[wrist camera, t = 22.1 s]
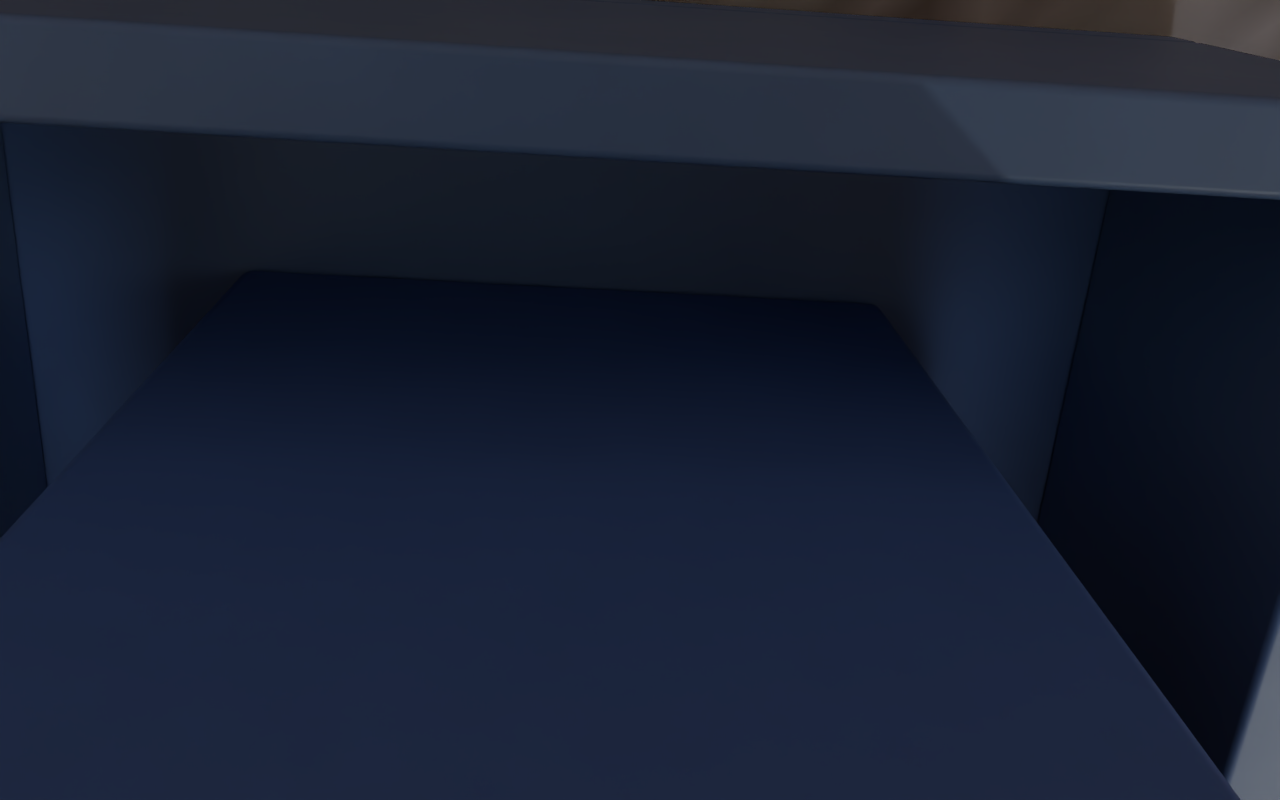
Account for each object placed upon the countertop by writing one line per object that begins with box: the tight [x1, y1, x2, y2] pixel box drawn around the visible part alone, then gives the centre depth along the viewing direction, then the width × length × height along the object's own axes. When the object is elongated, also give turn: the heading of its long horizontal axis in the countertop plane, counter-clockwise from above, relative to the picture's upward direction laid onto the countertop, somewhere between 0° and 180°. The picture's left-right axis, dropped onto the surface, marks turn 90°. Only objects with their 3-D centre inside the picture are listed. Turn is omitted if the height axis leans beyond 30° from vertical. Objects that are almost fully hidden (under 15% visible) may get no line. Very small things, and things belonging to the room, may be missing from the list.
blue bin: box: [0, 0, 1280, 800], centre depth 11 cm, size 11×11×5 cm
